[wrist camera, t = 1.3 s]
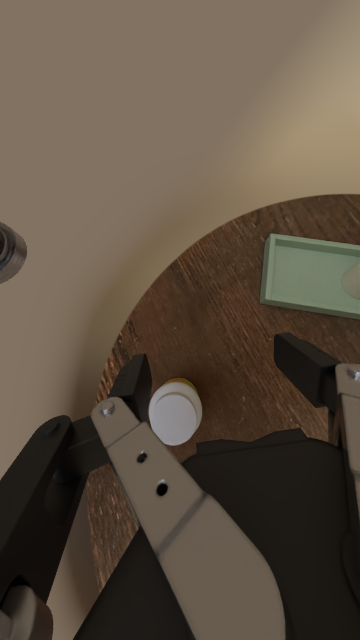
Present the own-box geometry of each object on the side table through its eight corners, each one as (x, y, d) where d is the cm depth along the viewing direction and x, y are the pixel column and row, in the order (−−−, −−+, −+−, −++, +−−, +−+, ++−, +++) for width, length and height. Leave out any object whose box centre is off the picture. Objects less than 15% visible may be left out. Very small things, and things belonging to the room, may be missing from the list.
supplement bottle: (205, 391, 25) (217, 409, 16) (184, 428, 24) (183, 470, 15) (172, 369, 26) (165, 373, 16) (150, 404, 25) (129, 429, 16)
